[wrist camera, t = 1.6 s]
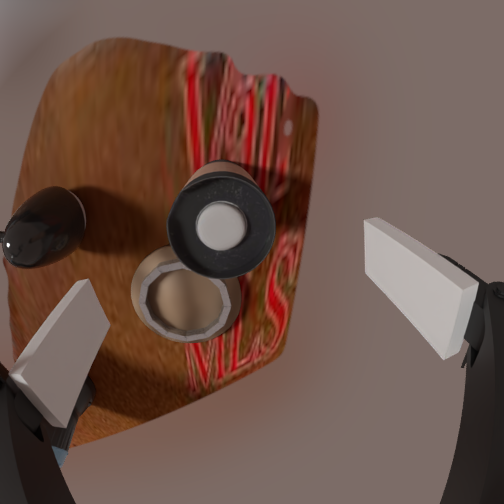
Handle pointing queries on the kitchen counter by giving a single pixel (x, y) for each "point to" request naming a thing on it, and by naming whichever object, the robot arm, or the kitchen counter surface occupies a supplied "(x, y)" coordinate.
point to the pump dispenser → (44, 229)
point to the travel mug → (221, 222)
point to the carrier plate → (183, 299)
